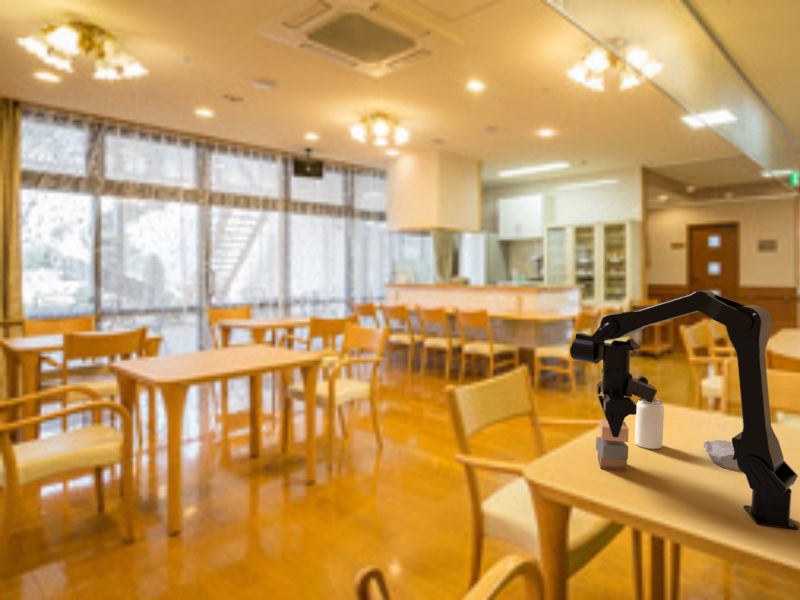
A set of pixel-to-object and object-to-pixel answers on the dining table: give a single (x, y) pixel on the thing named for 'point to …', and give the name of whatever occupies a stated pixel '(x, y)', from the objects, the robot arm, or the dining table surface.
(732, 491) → the dining table surface
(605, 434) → the terracotta block
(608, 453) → the gray block
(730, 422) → the dining table surface
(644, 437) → the can
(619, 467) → the walnut block
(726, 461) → the stone block
